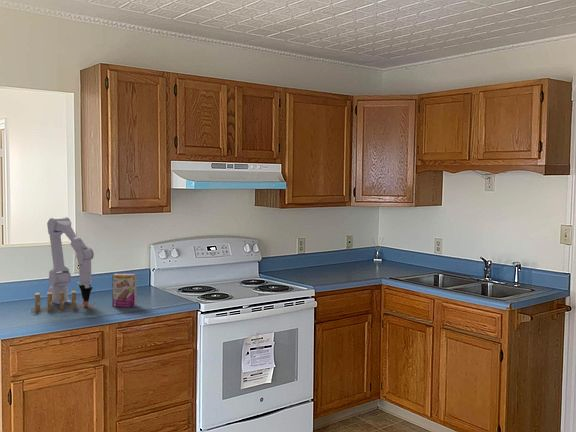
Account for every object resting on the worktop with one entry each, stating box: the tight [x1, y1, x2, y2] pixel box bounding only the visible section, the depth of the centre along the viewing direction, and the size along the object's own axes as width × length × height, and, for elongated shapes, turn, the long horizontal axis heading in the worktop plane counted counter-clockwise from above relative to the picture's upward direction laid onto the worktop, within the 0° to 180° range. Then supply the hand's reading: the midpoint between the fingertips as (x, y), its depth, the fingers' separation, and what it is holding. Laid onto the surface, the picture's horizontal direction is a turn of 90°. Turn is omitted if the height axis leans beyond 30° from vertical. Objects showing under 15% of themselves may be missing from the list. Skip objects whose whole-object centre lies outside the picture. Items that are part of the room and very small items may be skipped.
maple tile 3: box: [59, 291, 65, 310], centre depth 287 cm, size 2×5×8 cm, turn 21°
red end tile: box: [82, 298, 89, 306], centre depth 291 cm, size 2×5×8 cm, turn 26°
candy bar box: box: [111, 273, 137, 308], centre depth 294 cm, size 11×5×16 cm, turn 92°
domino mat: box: [29, 303, 95, 314], centre depth 288 cm, size 29×12×1 cm, turn 110°
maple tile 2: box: [46, 291, 53, 310], centre depth 285 cm, size 2×5×8 cm, turn 20°
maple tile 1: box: [34, 292, 41, 311], centre depth 283 cm, size 2×5×8 cm, turn 20°
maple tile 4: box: [71, 290, 77, 309], centre depth 289 cm, size 2×5×8 cm, turn 21°
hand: (85, 300), depth 291 cm, fingers closed on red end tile, 5 cm apart
